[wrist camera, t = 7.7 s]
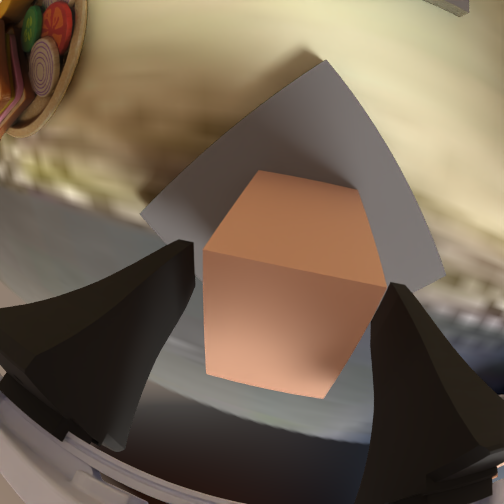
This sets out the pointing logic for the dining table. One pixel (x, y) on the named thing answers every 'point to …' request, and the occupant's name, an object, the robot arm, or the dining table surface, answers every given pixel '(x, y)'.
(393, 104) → the dining table surface
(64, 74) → the toy sandwich meal
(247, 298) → the block
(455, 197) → the dining table surface
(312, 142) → the mat
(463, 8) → the vise
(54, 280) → the dining table surface
